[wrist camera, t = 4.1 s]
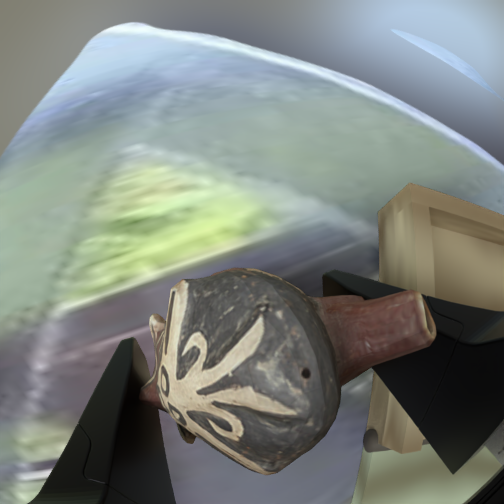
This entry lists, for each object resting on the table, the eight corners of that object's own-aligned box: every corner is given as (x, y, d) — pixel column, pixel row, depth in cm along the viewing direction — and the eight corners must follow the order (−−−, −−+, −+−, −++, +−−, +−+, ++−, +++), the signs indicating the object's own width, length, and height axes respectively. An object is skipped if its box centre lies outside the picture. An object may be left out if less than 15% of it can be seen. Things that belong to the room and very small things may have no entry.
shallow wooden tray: (491, 487, 14) (523, 496, 10) (340, 532, 13) (367, 562, 9) (508, 247, 20) (540, 231, 17) (375, 211, 19) (406, 181, 16)
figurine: (159, 294, 16) (61, 158, 4) (293, 281, 17) (430, 147, 6) (176, 431, 14) (109, 576, 2) (313, 411, 15) (488, 480, 4)
